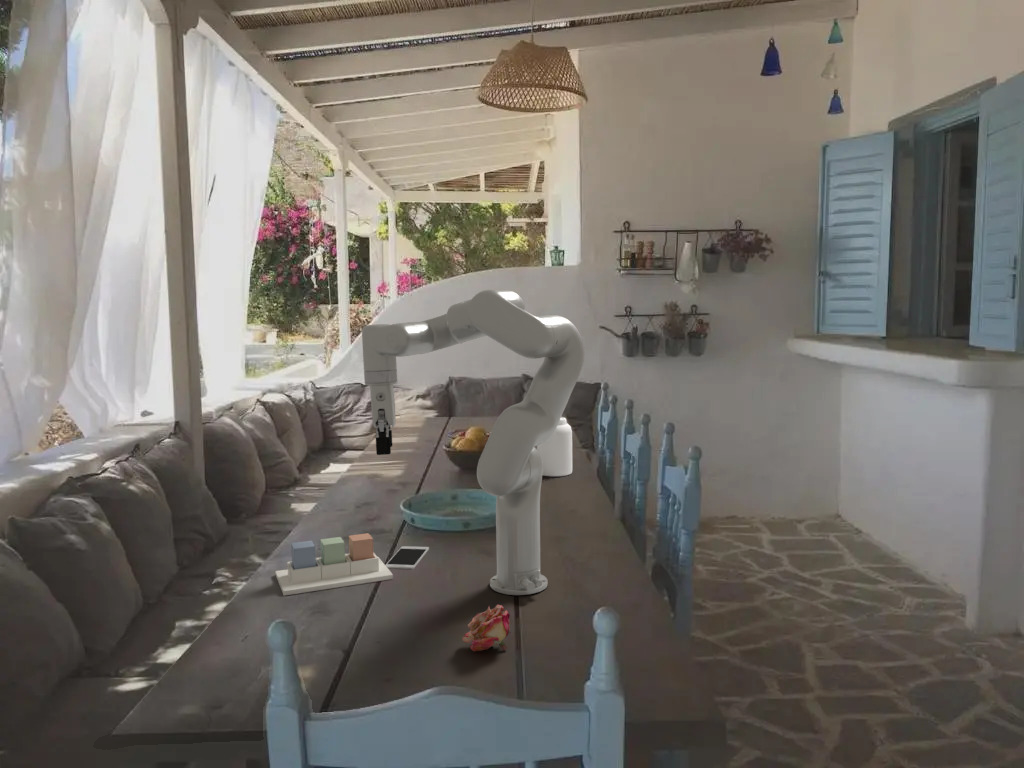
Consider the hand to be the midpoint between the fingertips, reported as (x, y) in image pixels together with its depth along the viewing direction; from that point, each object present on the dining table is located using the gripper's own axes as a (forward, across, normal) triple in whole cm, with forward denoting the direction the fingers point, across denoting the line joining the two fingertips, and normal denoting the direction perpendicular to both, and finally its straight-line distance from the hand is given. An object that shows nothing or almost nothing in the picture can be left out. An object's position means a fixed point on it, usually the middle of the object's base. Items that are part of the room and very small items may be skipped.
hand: (384, 450), depth 190 cm
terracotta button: (+24, -5, +6) cm, 25 cm away
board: (+27, -6, +13) cm, 31 cm away
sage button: (+24, -6, +13) cm, 28 cm away
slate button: (+24, -8, +19) cm, 31 cm away
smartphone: (+28, +5, -4) cm, 29 cm away
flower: (+29, -49, -19) cm, 60 cm away
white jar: (+28, +91, -54) cm, 109 cm away
